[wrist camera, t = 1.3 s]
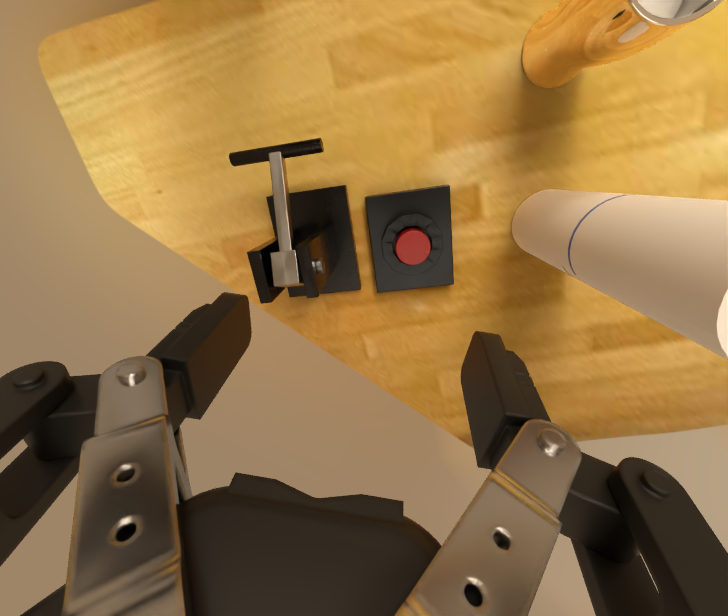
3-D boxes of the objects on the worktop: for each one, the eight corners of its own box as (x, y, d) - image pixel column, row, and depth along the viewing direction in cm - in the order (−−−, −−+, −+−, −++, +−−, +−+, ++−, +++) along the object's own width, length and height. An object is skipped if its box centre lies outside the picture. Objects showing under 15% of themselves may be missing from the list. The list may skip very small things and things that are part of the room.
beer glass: (580, -16, 29) (758, -194, 15) (604, 64, 31) (781, -28, 17) (505, 36, 31) (602, -80, 17) (532, 109, 33) (639, 59, 19)
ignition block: (365, 196, 37) (363, 198, 34) (447, 184, 36) (452, 185, 33) (377, 288, 41) (376, 298, 38) (451, 280, 40) (456, 289, 36)
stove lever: (238, 159, 29) (224, 147, 27) (324, 145, 29) (317, 131, 26) (253, 290, 30) (240, 290, 27) (339, 281, 29) (333, 279, 26)
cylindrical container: (567, 176, 35) (929, 172, 11) (586, 235, 37) (926, 334, 14) (502, 209, 36) (702, 266, 13) (524, 265, 38) (730, 397, 15)
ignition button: (393, 230, 35) (393, 233, 33) (427, 225, 35) (429, 228, 33) (397, 263, 36) (397, 267, 35) (429, 259, 36) (431, 263, 34)
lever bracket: (269, 196, 38) (208, 206, 25) (346, 184, 36) (323, 188, 24) (292, 294, 42) (250, 345, 29) (361, 286, 41) (349, 336, 28)
